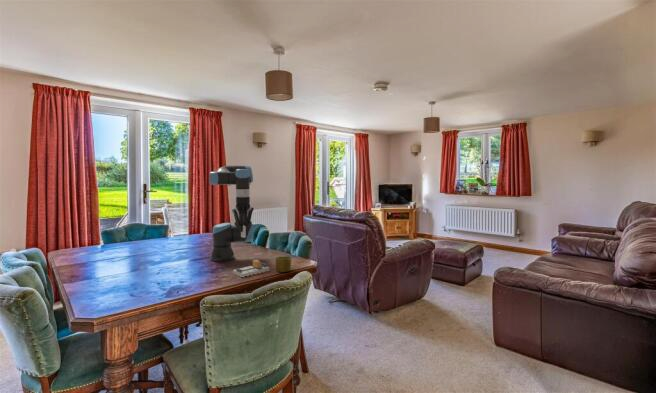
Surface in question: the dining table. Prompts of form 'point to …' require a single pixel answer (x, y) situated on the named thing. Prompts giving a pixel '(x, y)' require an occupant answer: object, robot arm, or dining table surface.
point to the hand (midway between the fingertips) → (243, 237)
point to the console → (250, 270)
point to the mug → (283, 264)
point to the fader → (256, 263)
